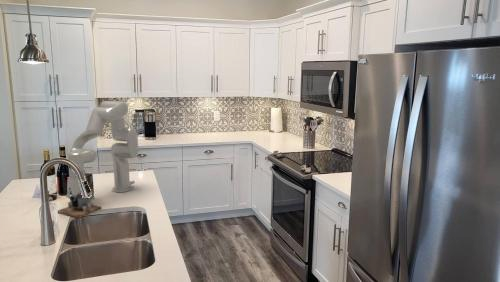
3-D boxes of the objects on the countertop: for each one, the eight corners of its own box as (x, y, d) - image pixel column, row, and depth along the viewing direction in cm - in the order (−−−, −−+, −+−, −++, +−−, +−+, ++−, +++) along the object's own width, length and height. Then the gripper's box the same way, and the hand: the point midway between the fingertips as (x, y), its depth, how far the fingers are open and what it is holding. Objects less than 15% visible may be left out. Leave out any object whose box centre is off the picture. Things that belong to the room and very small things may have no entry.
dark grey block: (78, 203, 209) (77, 193, 208) (88, 206, 206) (87, 196, 204) (70, 206, 205) (69, 196, 203) (80, 209, 201) (79, 198, 200)
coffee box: (85, 197, 227) (83, 172, 224) (94, 198, 226) (93, 173, 223) (75, 202, 218) (73, 176, 215) (85, 203, 217) (83, 177, 214)
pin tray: (81, 203, 216) (81, 197, 215) (101, 208, 209) (100, 201, 208) (57, 212, 202) (56, 205, 201) (77, 218, 195) (76, 210, 194)
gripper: (85, 169, 211) (87, 199, 214) (58, 176, 196) (61, 209, 199) (94, 171, 207) (96, 201, 211) (67, 178, 192) (70, 211, 196)
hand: (79, 205), depth 205 cm, fingers closed on dark grey block, 5 cm apart
